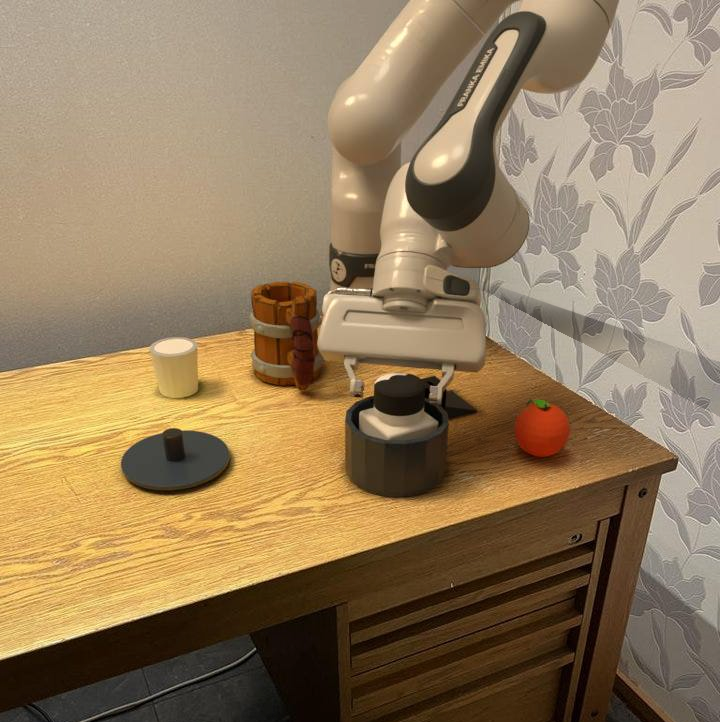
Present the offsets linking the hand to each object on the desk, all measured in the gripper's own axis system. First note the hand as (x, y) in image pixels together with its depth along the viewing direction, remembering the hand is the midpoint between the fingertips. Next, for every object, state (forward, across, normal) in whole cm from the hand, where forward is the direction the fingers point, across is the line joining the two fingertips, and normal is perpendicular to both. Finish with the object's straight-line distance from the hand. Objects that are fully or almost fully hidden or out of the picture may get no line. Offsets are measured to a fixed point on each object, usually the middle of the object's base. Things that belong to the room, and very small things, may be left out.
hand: (395, 399), depth 95 cm
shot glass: (-4, -34, +19) cm, 39 cm away
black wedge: (-4, +3, +19) cm, 20 cm away
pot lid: (+9, -27, +4) cm, 29 cm away
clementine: (+1, +18, +13) cm, 22 cm away
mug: (-9, -19, +24) cm, 32 cm away
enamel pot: (+7, 0, +8) cm, 10 cm away
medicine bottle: (+6, 0, +7) cm, 10 cm away
